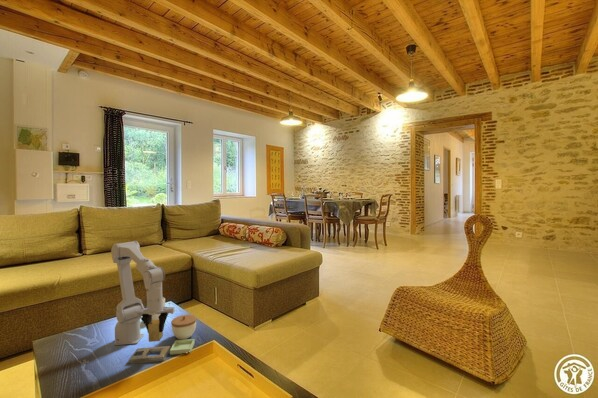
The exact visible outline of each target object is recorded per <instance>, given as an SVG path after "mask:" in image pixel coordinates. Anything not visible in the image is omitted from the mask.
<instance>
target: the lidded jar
mask: <svg viewBox="0 0 598 398" xmlns="http://www.w3.org/2000/svg"><path fill="white" fill-rule="evenodd" d="M170 323H171V330H172V333H173V335H174V337H176V338H177V340H188V339H189V338H191V337H192V335H193V334H194V333H195V332H196V327H197V316H195V315H194V314H182V315H179V316H176V317H174V318H173V319H171V322H170Z"/></svg>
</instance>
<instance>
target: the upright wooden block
mask: <svg viewBox="0 0 598 398" xmlns="http://www.w3.org/2000/svg"><path fill="white" fill-rule="evenodd" d="M148 332H149V333H148ZM163 332H164V330H163V331H162V332H160V322H159V320H152V321H151V322H150V323H149V324H148V331H147V333H148V343H151V342H160V341H161V339H162V338H163V335H164V333H163Z"/></svg>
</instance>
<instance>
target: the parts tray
mask: <svg viewBox="0 0 598 398" xmlns="http://www.w3.org/2000/svg"><path fill="white" fill-rule="evenodd" d="M194 346H195V338H190V339H189V338H187V339H183V340H181V339H176V340H174V342H173V343H172V346H170V351H169V355H170V356H172V355H173V356H175V355H183V354H182V353H186V352H189V351H191V352H192V350H193V348H194ZM186 354H187V353H186Z"/></svg>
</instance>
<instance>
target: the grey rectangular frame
mask: <svg viewBox="0 0 598 398" xmlns="http://www.w3.org/2000/svg"><path fill="white" fill-rule="evenodd" d="M170 349H171V346H170V345H165V346H155V347H153V346H152V347H141V348H140V347H139V348H137V349H136V350H135V351H134V352H133V354H132V355H131V356H130V358H129V359H128V364H140V363H152V362H153V363H154V362H163V361H165V360H166V359H167V356H168V355H169V354H170ZM152 353H153V354H154V353H155V354H156V353H159V355H150V354H152Z"/></svg>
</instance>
